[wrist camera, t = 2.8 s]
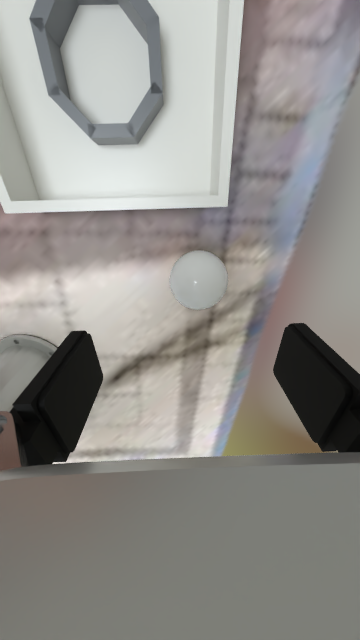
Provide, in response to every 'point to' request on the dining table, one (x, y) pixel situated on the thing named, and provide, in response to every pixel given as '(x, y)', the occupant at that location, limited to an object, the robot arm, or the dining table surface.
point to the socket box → (117, 103)
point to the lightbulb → (198, 280)
